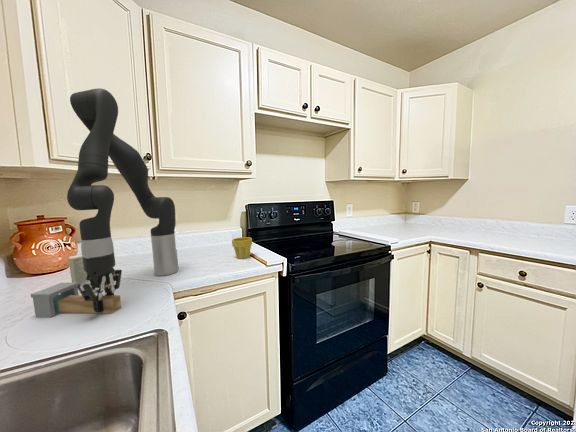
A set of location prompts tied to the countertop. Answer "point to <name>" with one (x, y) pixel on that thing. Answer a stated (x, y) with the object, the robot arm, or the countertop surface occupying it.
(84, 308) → the rod
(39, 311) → the tunnel
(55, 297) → the block
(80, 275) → the skincare box
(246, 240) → the plant pot
